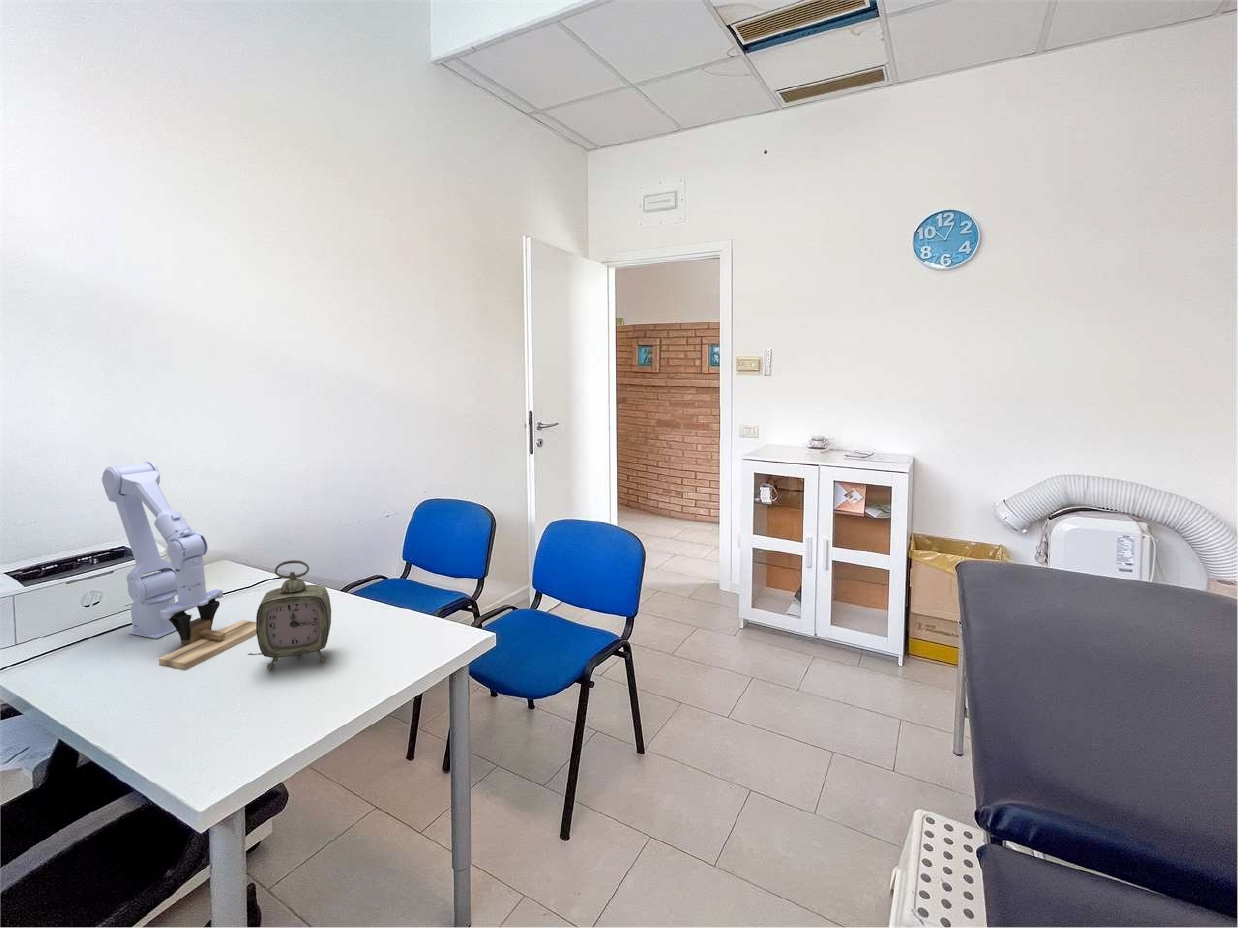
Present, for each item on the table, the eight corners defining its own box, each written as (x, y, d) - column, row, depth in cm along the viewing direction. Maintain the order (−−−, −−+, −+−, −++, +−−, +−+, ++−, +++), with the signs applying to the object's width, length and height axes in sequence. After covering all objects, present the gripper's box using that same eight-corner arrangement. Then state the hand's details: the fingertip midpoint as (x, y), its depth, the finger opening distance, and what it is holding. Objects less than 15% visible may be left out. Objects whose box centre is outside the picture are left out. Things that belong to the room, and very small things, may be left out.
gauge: (181, 644, 144) (179, 626, 143) (200, 636, 148) (198, 617, 148) (213, 651, 141) (212, 632, 140) (232, 642, 146) (230, 623, 145)
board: (159, 664, 134) (158, 658, 134) (243, 625, 155) (242, 619, 155) (185, 669, 132) (185, 663, 132) (267, 629, 153) (266, 623, 153)
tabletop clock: (260, 675, 131) (250, 569, 126) (267, 656, 139) (259, 557, 135) (331, 664, 136) (324, 563, 132) (334, 647, 144) (328, 551, 140)
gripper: (173, 595, 135) (179, 650, 137) (230, 575, 149) (234, 624, 151) (151, 592, 137) (157, 645, 139) (209, 572, 151) (213, 621, 153)
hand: (196, 634), depth 145 cm, fingers closed on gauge, 5 cm apart
